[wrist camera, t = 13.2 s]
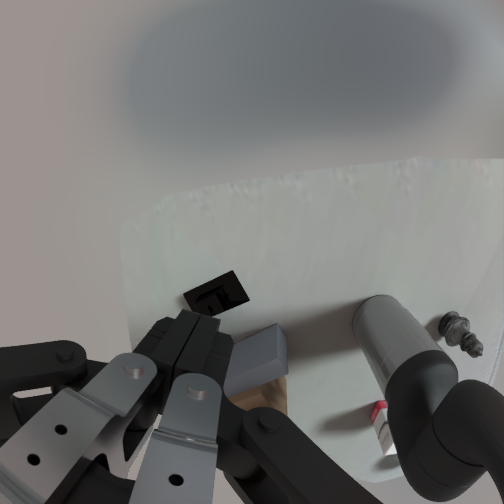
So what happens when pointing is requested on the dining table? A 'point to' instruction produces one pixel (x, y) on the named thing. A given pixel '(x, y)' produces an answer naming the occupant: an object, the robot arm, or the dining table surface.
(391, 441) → the ink box
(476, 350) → the dark grey figurine
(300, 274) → the dining table surface
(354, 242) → the dining table surface
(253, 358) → the slate board
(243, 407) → the walnut block
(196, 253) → the dining table surface
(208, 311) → the black rectangular block
